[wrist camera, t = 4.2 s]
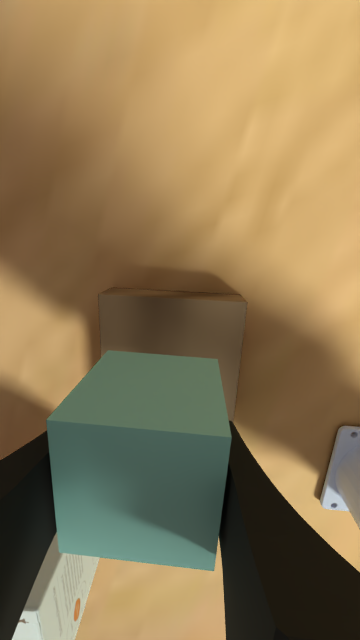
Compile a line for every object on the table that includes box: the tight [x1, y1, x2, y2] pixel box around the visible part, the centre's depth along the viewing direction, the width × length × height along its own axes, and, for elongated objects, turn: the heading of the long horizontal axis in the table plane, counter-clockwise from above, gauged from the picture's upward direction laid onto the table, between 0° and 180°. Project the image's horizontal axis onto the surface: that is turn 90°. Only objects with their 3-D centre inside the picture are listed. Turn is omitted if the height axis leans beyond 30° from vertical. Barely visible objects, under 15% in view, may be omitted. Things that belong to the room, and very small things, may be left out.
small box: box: [12, 532, 100, 640], centre depth 18 cm, size 8×6×10 cm
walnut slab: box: [98, 288, 247, 422], centre depth 18 cm, size 9×9×3 cm
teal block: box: [46, 350, 232, 571], centre depth 10 cm, size 5×5×5 cm
